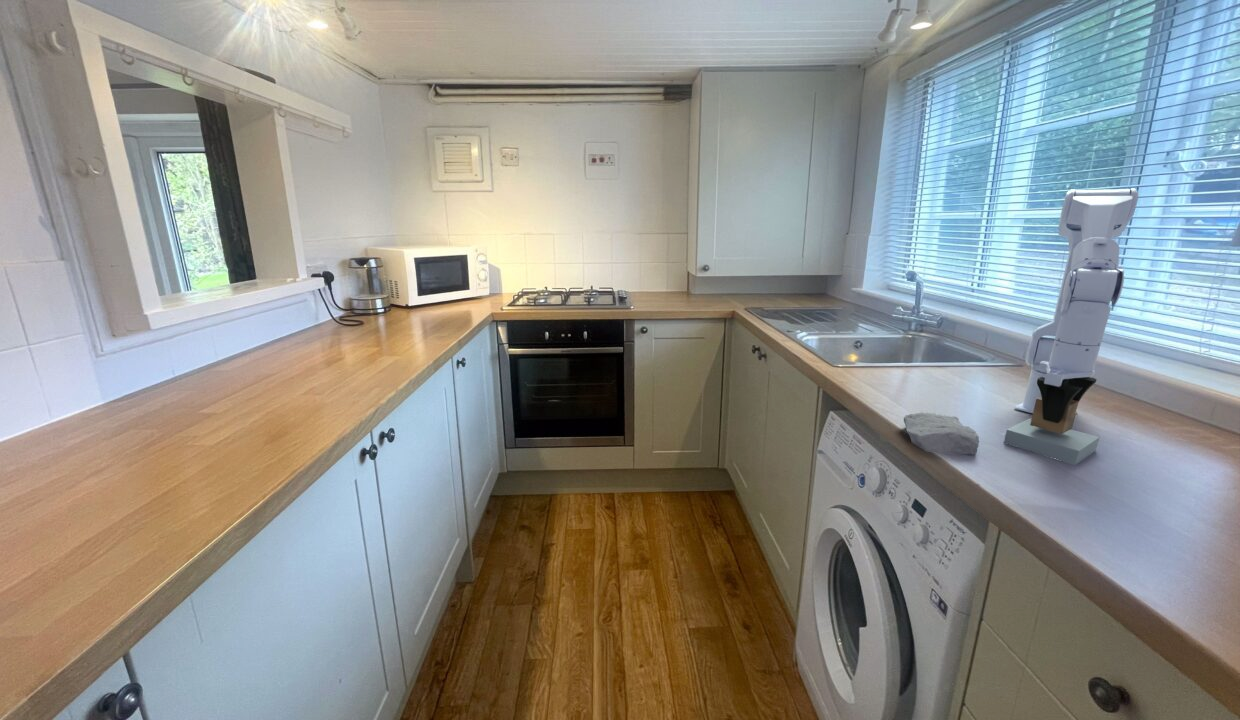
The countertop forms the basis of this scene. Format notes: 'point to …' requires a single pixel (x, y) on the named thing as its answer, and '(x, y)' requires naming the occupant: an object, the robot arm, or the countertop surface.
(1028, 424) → the base slab
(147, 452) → the countertop surface
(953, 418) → the stone block
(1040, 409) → the walnut block
